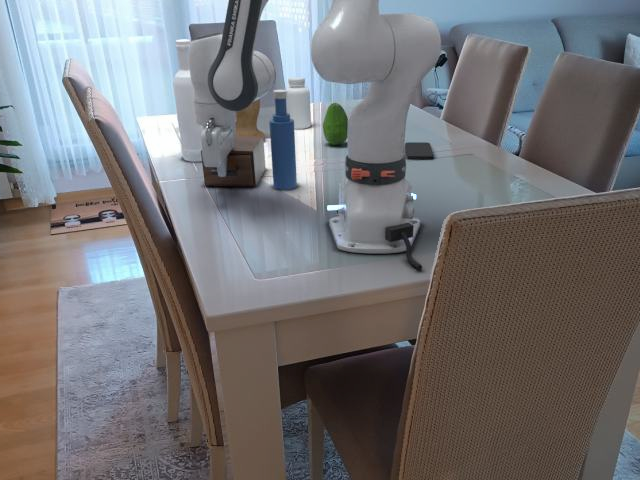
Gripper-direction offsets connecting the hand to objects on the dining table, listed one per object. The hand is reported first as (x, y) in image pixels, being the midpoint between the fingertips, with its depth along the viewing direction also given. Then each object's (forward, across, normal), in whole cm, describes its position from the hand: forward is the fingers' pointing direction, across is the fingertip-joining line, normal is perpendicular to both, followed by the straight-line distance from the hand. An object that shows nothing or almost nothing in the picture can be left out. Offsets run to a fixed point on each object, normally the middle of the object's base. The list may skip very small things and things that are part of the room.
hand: (222, 176), depth 149 cm
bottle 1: (+4, +32, +14) cm, 35 cm away
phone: (+4, +38, -49) cm, 62 cm away
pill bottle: (+4, +71, -11) cm, 72 cm away
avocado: (+4, +47, -25) cm, 53 cm away
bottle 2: (+4, +6, -14) cm, 16 cm away
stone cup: (+4, +53, +5) cm, 53 cm away
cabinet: (+4, +14, 0) cm, 14 cm away
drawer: (+3, +10, 0) cm, 10 cm away
